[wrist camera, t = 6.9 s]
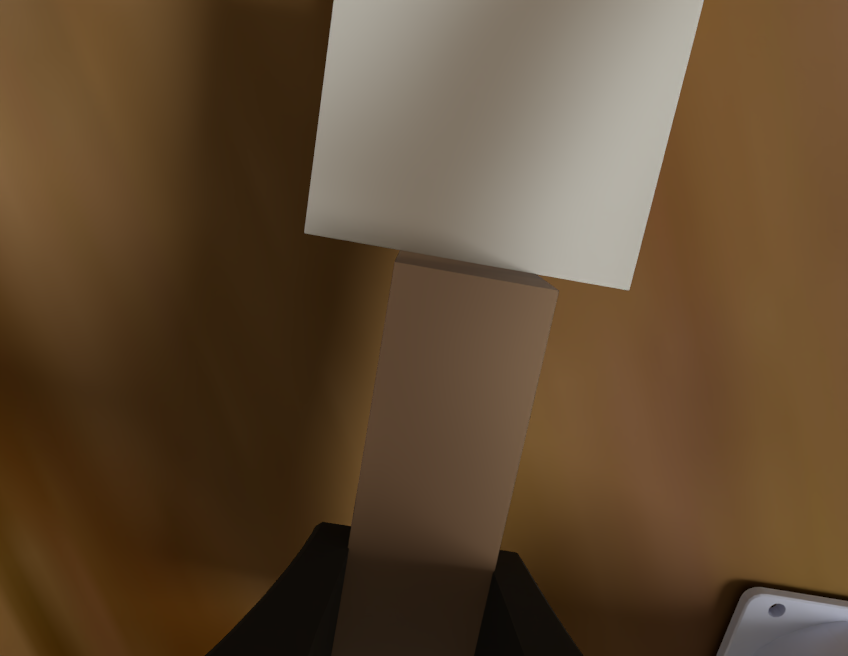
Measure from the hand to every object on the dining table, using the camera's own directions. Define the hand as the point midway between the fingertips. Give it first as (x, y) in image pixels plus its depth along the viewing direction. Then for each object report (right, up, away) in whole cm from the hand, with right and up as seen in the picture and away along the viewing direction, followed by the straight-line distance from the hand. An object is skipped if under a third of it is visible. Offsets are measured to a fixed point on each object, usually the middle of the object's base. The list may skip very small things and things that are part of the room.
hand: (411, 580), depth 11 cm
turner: (0, +3, +2) cm, 4 cm away
